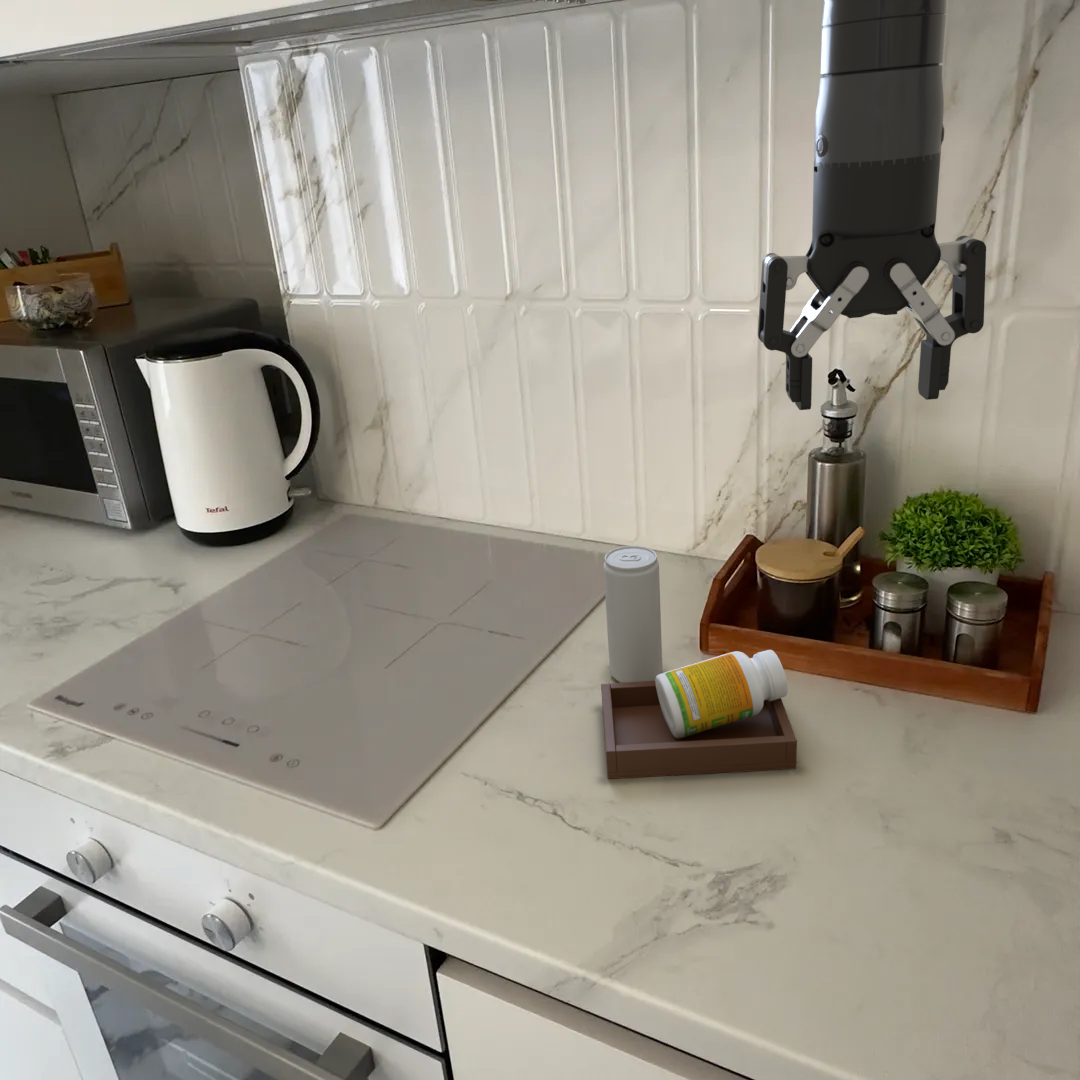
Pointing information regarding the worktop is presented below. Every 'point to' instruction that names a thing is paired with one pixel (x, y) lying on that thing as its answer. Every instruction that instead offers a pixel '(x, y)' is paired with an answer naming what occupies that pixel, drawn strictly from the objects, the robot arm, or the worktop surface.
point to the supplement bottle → (719, 691)
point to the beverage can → (633, 613)
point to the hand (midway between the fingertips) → (864, 401)
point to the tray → (689, 738)
